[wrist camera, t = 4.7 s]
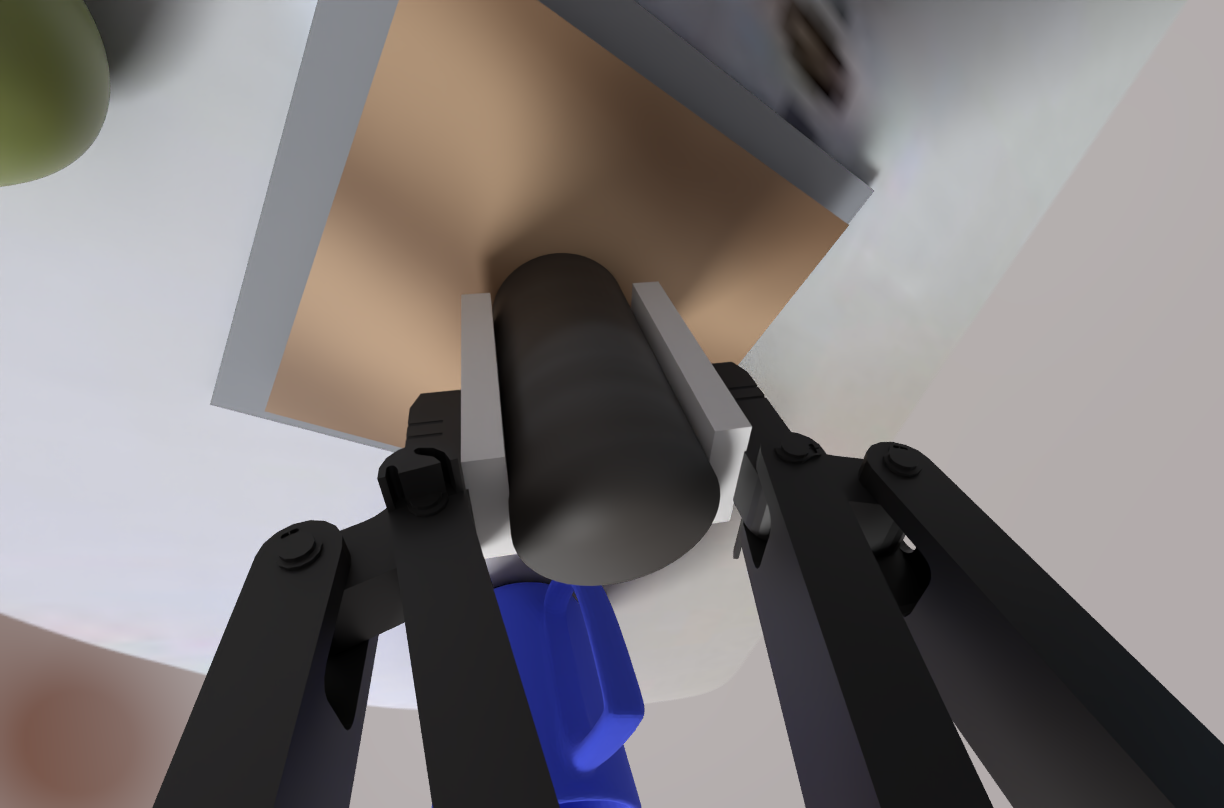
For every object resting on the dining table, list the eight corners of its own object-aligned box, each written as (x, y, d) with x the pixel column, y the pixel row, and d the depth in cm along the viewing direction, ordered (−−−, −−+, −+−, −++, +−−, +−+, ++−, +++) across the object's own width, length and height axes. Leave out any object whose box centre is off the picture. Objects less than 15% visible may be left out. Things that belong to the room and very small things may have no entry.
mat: (376, -201, 11) (373, -208, 11) (865, 186, 19) (874, 190, 18) (215, 395, 18) (210, 404, 18) (619, 503, 25) (622, 511, 25)
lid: (428, -76, 12) (373, -164, 4) (828, 212, 18) (1076, 369, 11) (275, 388, 17) (143, 675, 10) (618, 486, 23) (687, 710, 16)
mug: (658, 525, 27) (738, 743, 19) (556, 660, 32) (586, 872, 25) (499, 493, 23) (519, 747, 16) (414, 651, 29) (398, 896, 21)
